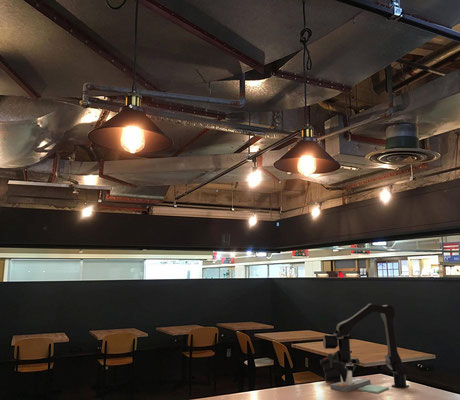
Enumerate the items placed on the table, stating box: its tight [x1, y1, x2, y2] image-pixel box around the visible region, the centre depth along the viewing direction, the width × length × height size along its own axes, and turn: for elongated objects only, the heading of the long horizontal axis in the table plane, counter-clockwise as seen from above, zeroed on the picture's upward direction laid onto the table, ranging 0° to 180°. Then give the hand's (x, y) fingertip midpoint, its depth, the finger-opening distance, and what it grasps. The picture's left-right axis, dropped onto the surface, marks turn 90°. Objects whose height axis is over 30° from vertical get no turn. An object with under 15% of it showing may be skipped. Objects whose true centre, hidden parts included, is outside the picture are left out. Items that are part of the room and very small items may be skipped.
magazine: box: [319, 351, 341, 383], centre depth 230 cm, size 4×13×15 cm, turn 88°
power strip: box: [330, 377, 372, 393], centre depth 218 cm, size 28×9×3 cm, turn 135°
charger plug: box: [341, 370, 353, 385], centre depth 215 cm, size 4×4×8 cm
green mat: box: [357, 384, 389, 394], centre depth 208 cm, size 12×10×1 cm
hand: (346, 381), depth 214 cm, fingers closed on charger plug, 4 cm apart
